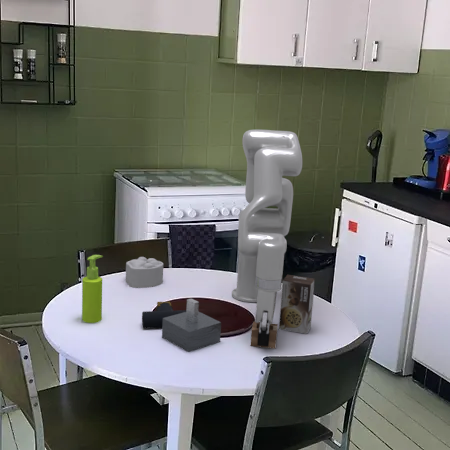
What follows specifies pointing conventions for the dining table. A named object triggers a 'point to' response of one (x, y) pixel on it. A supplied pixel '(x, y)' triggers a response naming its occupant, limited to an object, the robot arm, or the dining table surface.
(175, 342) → the block
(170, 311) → the pipe connector
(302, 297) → the brown grey upright box
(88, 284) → the soap dispenser
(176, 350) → the dining table surface
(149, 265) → the lumpy-topped squat cylinder
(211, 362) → the dining table surface
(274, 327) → the brown small box
